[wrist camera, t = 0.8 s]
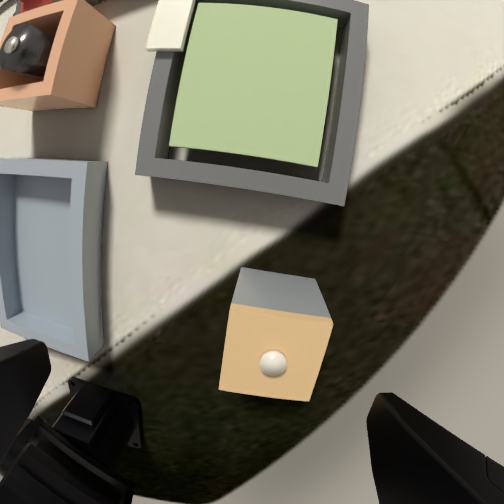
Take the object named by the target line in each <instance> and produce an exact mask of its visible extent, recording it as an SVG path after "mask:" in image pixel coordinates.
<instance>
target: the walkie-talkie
mask: <svg viewBox="0 0 504 504" xmlns="http://www.w3.org/2000/svg"><path fill="white" fill-rule="evenodd" d="M2 1H3V0H0V2H2ZM59 1H62V0H17V6H16V12H15V13H14V14H13V16H15V15H18V14H21V13H23V12H26V11H29V10H32V9H35V8H38V7H41V6H45V5H48V4H51V3H55V2H59ZM85 1H86V2H87V3H88V4H90V5H91V6H92V7H93V6H94V5H95V4H97V3H98V4H99V3H101V2H102V1H104V0H85ZM105 1H106V0H105Z"/></svg>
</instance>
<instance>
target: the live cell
mask: <svg viewBox="0 0 504 504" xmlns="http://www.w3.org/2000/svg"><path fill="white" fill-rule="evenodd" d="M332 327H333V322H332V319H331V317H330V314H329V312H328V309H327V307H326V304H325V302H324V299H323V297H322V294H321V292H320V289H319V287H318V285H317V282H316V280H315V279H312V278H305V277H299V276H293V275H286V274H280V273H274V272H268V271H261V270H255V269H249V268H243V267H241V270H240V274H239V278H238V281H237V285H236V288H235V292H234V296H233V299H232V303H231V307H230V312H229V319H228V326H227V333H226V340H225V347H224V354H223V361H222V369H221V376H220V383H219V390H224V391H230V392H236V393H242V394H249V395H256V396H263V397H271V398H279V399H288V400H298V401H309V400H310V397H311V394H312V391H313V388H314V385H315V382H316V379H317V376H318V373H319V370H320V367H321V364H322V360H323V357H324V354H325V351H326V347H327V344H328V341H329V337H330V334H331V330H332Z"/></svg>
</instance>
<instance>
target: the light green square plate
mask: <svg viewBox="0 0 504 504" xmlns="http://www.w3.org/2000/svg"><path fill="white" fill-rule="evenodd" d="M337 21H338V19H334V18H330V17H325V16H320V15H315V14H310V13H305V12H299V11H293V10H286V9H279V8H272V7H263V6H254V5H242V4H226V3H198V7H197V10H196V14H195V18H194V22H193V26H192V30H191V34H190V38H189V43H188V47H187V51H186V56H185V60H184V65H183V70H182V75H181V80H180V85H179V90H178V95H177V100H176V106H175V112H174V117H173V123H172V129H171V136H170V142H169V146H172V147H181V148H191V149H200V150H209V151H217V152H225V153H232V154H239V155H246V156H253V157H260V158H266V159H272V160H278V161H284V162H290V163H295V164H301V165H306V166H312V167H318V162H319V156H320V150H321V143H322V137H323V130H324V124H325V117H326V110H327V103H328V96H329V88H330V81H331V73H332V65H333V57H334V48H335V40H336V30H337Z"/></svg>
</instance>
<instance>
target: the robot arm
mask: <svg viewBox="0 0 504 504" xmlns="http://www.w3.org/2000/svg"><path fill="white" fill-rule="evenodd" d="M50 372H51V364H50V359H49V354H48V350H47V346H46V344H45V343H44V342H43V341H40V340H37V339H29V340H26V341H22V342H18V343H14V344H10V345H6V346H2V347H0V475H1V476H3V479H2V480H1V482H0V504H131V503H132V498H133V493H134V488H135V483H134V482H132V481H131V480H127V479H125V478H123V477H122V476H120V475H119V474H117V473H115V470H116V468H117V466H118V464H119V462H120V460H121V458H122V455H123V453H124V451H125V449H126V447H127V445H128V446H131V447H134V448H141V446H142V437H141V427H140V416H139V403H138V400H137V398H135V397H134V396H131V395H127V394H124V393H120V392H117V391H114V390H111V389H108V388H104V387H101V386H98V385H95V384H92V383H89V382H87V381H84V380H81V379H78V378H75V377H71V378H70V379H69V380H68V384H69V389H70V394H71V398H72V399H71V400H70V402H69V403H68V404H67V406H66V407H65V408H64V409H63V411H62V414H61V415H60V417H59V418H58V419H57V421H56V422H55V423H54V425H53V426H52V427H51V426H50V425H49V424H48V423H47V422H45V419H43V418H42V417H41V416H40V415H39V416H38V417H37V418H36V419H35V420H31V419H27V418H28V416H29V415H30V413H31V411H32V409H33V407H34V405H35V403H36V401H37V399H38V397H39V395H40V393H41V391H42V389H43V387H44V385H45V383H46V381H47V379H48V377H49V375H50ZM131 401H132V402H131ZM367 431H368V439H369V448H370V457H371V466H372V472H373V477H374V481H375V486H376V490H377V495H378V499H379V504H504V467H503V466H502V465H500V464H498V463H497V462H495V461H494V460H492V459H490V458H489V457H488V456H486V457H485V455H484V454H483V453H481V452H480V451H478V450H477V449H475V448H473V447H472V446H470V445H469V444H467V443H466V442H464V441H463V440H461V439H460V438H458V437H457V436H455V435H454V434H452V433H451V432H449V431H448V430H446V429H445V428H443V427H442V426H440V425H439V424H437V423H436V422H434V421H433V420H431V419H430V418H428V417H427V416H426V415H424V414H422V413H421V412H420V411H418V410H417V409H415V408H414V407H412V406H411V405H410V404H408V403H407V402H405V401H404V400H402V399H401V398H399V397H398V396H397V395H395V394H394V393H379V394H377V395H376V397H375V399H374V402H373V404H372V407H371V409H370V411H369V414H368V416H367Z"/></svg>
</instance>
